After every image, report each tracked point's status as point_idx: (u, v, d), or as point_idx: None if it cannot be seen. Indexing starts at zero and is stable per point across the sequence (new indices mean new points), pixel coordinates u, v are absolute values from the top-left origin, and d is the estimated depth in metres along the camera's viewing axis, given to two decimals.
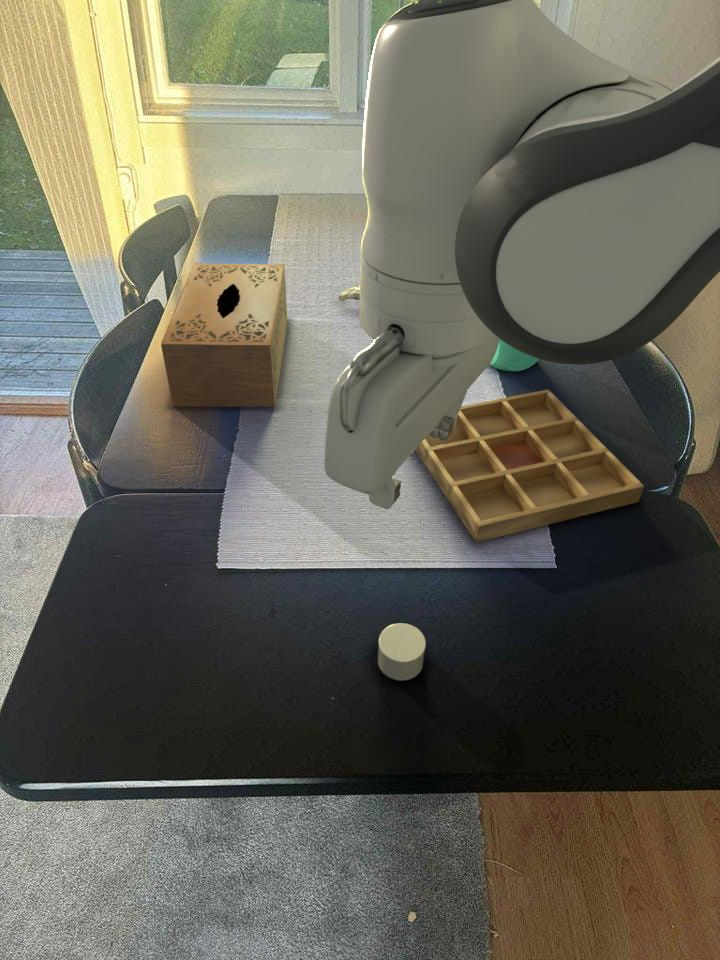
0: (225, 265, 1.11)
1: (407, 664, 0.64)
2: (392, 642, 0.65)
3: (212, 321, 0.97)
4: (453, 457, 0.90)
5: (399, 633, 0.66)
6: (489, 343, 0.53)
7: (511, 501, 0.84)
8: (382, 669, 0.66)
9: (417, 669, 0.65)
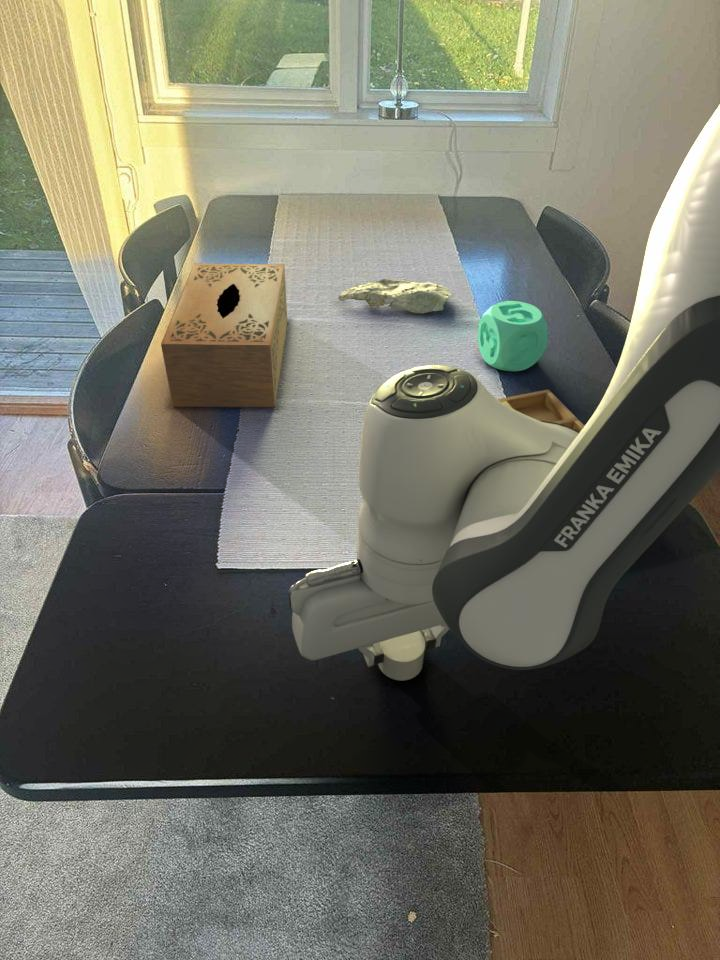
0: (225, 265, 1.11)
1: (407, 664, 0.64)
2: (392, 642, 0.65)
3: (212, 321, 0.97)
4: None
5: None
6: None
7: None
8: (382, 669, 0.66)
9: (417, 669, 0.65)
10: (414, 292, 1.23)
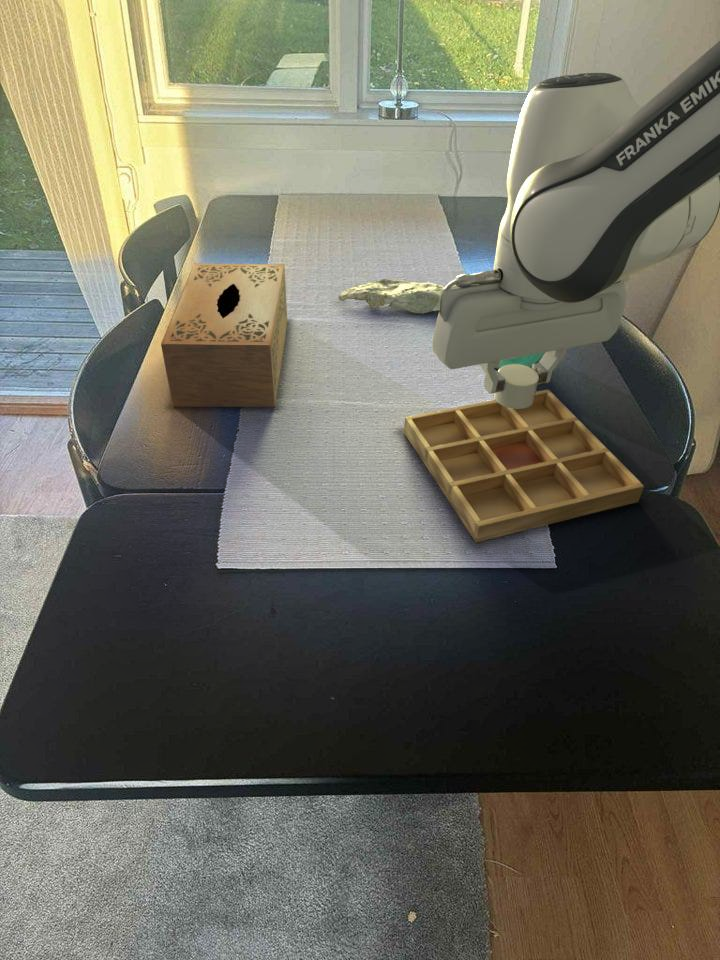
0: (225, 265, 1.11)
1: (525, 388, 0.74)
2: (509, 374, 0.75)
3: (212, 321, 0.97)
4: (453, 457, 0.90)
5: (515, 369, 0.76)
6: (604, 322, 0.72)
7: (511, 501, 0.84)
8: (500, 400, 0.76)
9: (531, 398, 0.75)
10: (414, 292, 1.23)
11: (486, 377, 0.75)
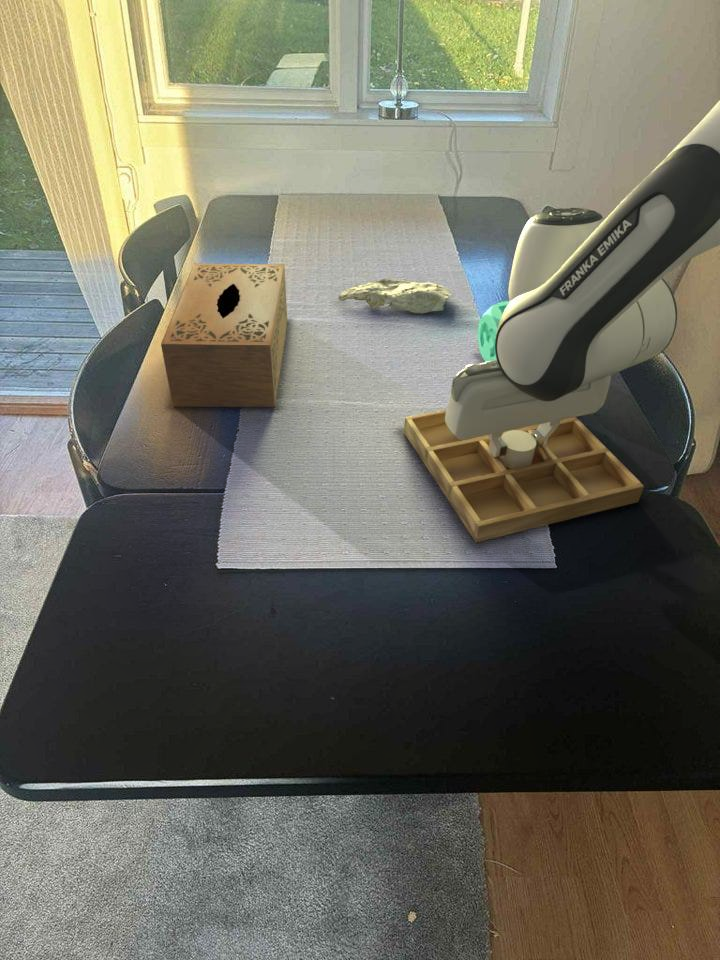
0: (225, 265, 1.11)
1: (524, 453, 0.86)
2: (511, 440, 0.88)
3: (212, 321, 0.97)
4: (453, 457, 0.90)
5: (516, 435, 0.88)
6: (592, 398, 0.85)
7: (511, 501, 0.84)
8: (503, 462, 0.88)
9: (530, 461, 0.88)
10: (414, 292, 1.23)
11: (491, 443, 0.87)
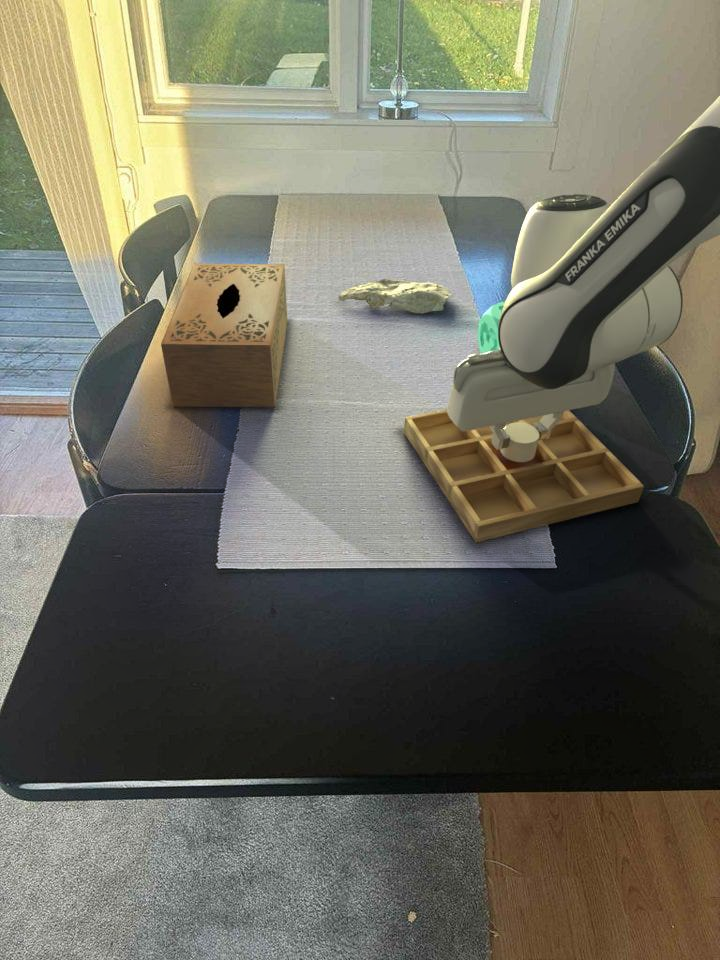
0: (225, 265, 1.11)
1: (527, 445, 0.85)
2: (514, 432, 0.87)
3: (212, 321, 0.97)
4: (453, 457, 0.90)
5: (518, 427, 0.87)
6: (596, 389, 0.84)
7: (511, 501, 0.84)
8: (505, 454, 0.87)
9: (533, 453, 0.87)
10: (414, 292, 1.23)
11: (493, 435, 0.86)
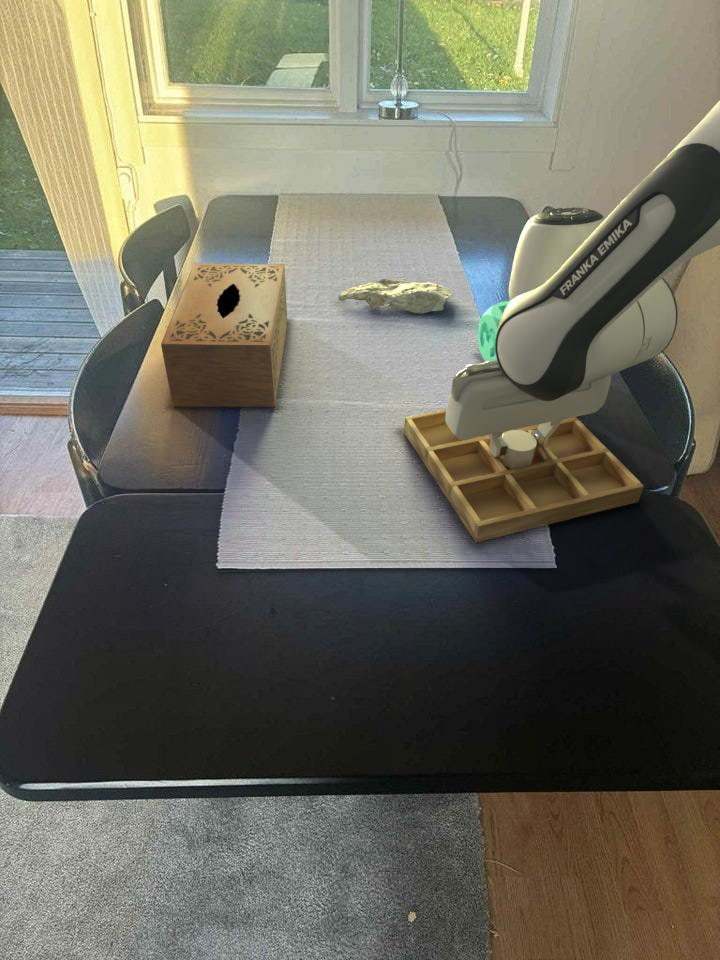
0: (225, 265, 1.11)
1: (525, 453, 0.86)
2: (511, 440, 0.88)
3: (212, 321, 0.97)
4: (453, 457, 0.90)
5: (516, 435, 0.88)
6: (593, 398, 0.84)
7: (511, 501, 0.84)
8: (503, 462, 0.88)
9: (530, 461, 0.88)
10: (414, 292, 1.23)
11: (491, 443, 0.87)
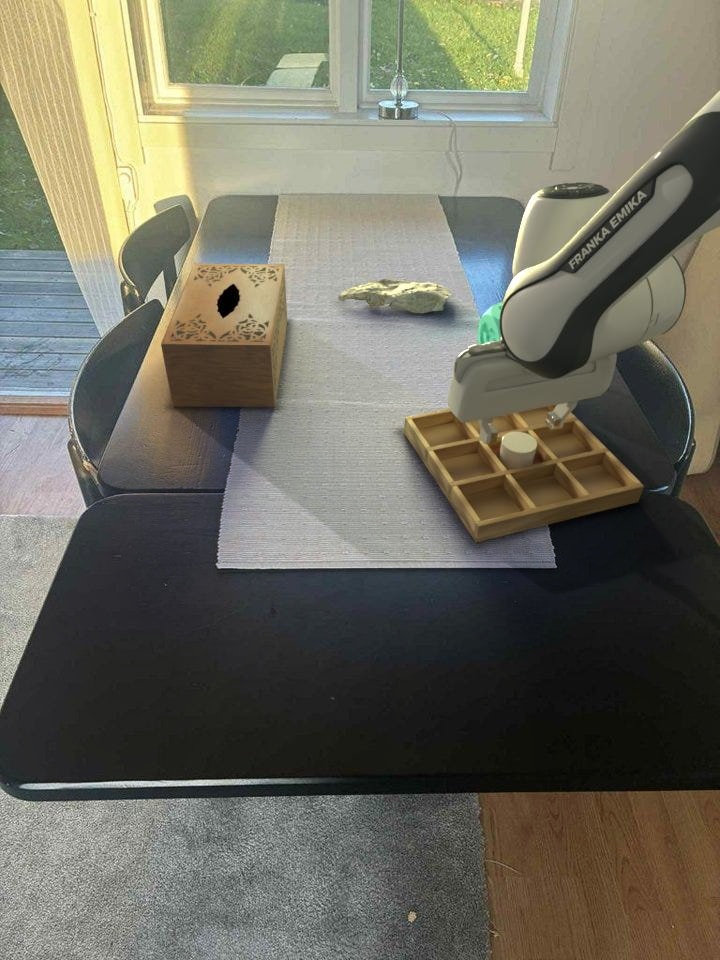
0: (225, 265, 1.11)
1: (525, 455, 0.86)
2: (512, 442, 0.88)
3: (212, 321, 0.97)
4: (453, 457, 0.90)
5: (516, 437, 0.88)
6: (597, 380, 0.83)
7: (511, 501, 0.84)
8: (503, 464, 0.88)
9: (530, 462, 0.88)
10: (414, 292, 1.23)
11: (481, 429, 0.85)
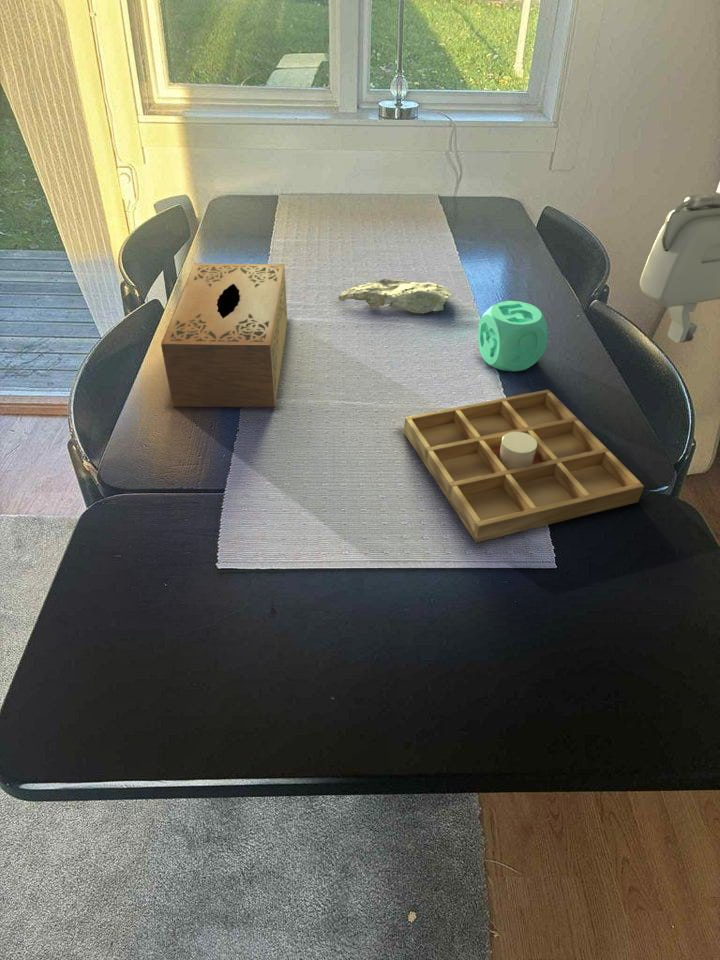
0: (225, 265, 1.11)
1: (525, 455, 0.86)
2: (512, 442, 0.88)
3: (212, 321, 0.97)
4: (453, 457, 0.90)
5: (516, 437, 0.88)
6: None
7: (511, 501, 0.84)
8: (503, 464, 0.88)
9: (530, 462, 0.88)
10: (414, 292, 1.23)
11: (673, 324, 0.66)
